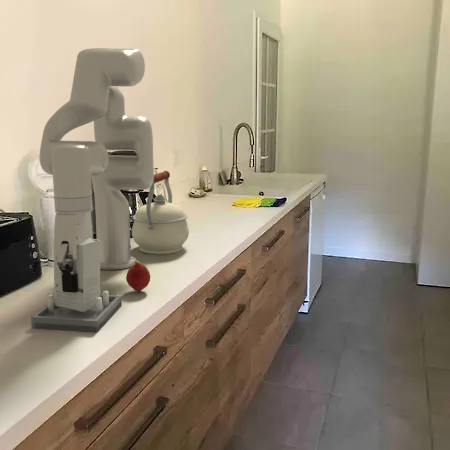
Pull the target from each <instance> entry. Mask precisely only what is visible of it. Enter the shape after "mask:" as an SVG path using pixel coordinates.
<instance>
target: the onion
mask: <svg viewBox="0 0 450 450" xmlns="http://www.w3.org/2000/svg"><path fill="white" fill-rule="evenodd" d="M125 279H126V283H127V284H128V286H129V287H131V289H133V290H134V291H135V292H137V293H140V292H141V291H143V290H144V289H146V288H147V287H148V286H149V283H150V281H151V273H150V271H149V269H148V268H147V267H146V266H145V265H144V264H142V263H141V262H140V261H139V260H137V259H136V261H135V264H134V265H133V266H131V267H129V269H128V271H127V273H126V277H125Z"/></svg>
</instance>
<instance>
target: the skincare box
mask: <svg viewBox="0 0 450 450" xmlns="http://www.w3.org/2000/svg"><path fill="white" fill-rule="evenodd" d="M53 242H54V239H53ZM72 258H73V256H69V257H66V259H72ZM67 264H69V265H70V267H71V265H72V263H69V262H67ZM75 274H77V278H78V292H76V293H72V292H63V290H62V274H61V273H60V269H59V266H58V264H57V260H56V259H55V256H54V255H53V282H54V283H53V287H54V291H53V292H54V294H53V297H54V299H55V306H57V307H63V308H68V309H73V310H77V311H81V312H85V311H87V310H89V309H91V308H93V307H95V306H96V298H97V297H100V295H101V269H100V240H97V238H93V239H91V238H89V239H88V240H86V241H84V242H83V243H81V244H79V259H78V260H77V261H76V271H75Z"/></svg>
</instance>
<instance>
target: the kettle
mask: <svg viewBox="0 0 450 450" xmlns="http://www.w3.org/2000/svg"><path fill="white" fill-rule="evenodd" d="M170 177H171V174H170V171H168V170H163V171H162V172H158V173H155V174H154V177H153V183H152V185H151V187H150V188H149V191H148V195H147V200H146V204H143V205H142V206H140V207H139V208H138V209H137V210H136V212H135V214H134V215H132V219H133V225H132V230H131V236H132V239H133V241H134V242H135V244H137V246H138V250H139V251H140V252H142V253H144V254H148V255H169V254H175V253H177V252H179V251H182V249H183V245H184V243H186V241H187V239H188V238H189V231H190V230H189V225H188V223H187V219H188V218H189V217H188V214H186V213H185V211H184V210H183V208H182V207H181V206H180V205H177V204H175V203H173V193H172V190H171V185H170V179H169V178H170ZM162 181H164V185H165V188H166V192H167V199H166V197H165V196H164V195H162V194H158V195H156V196H155V197H154V199H153V196H154V192H155V184H156V183H160V182H162ZM152 201H154V202H152ZM166 201H167V202H166Z"/></svg>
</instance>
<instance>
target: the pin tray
mask: <svg viewBox="0 0 450 450" xmlns="http://www.w3.org/2000/svg"><path fill="white" fill-rule="evenodd" d="M46 297H47V298H46V301H47V304H46V305H45V306H44V307H42V308H41V309H39V310H38V311H37V312H35V313H34V314H33V315H32V316H31V318H30V319H31V320H30V321H31V322H30V323H31V328H32V329H42V330H56V331H70V332H84V333H85V332H86V333H98V332H100V331H101V330H102V328H103V327H104V325H106V324H107V322H108V321H110V319H111V318H113V316H114V315H115V314H116V313H117V311H118V310H119V309H120V308H121V307H122V306H123V305H122V295H111V294H109V291H108V290H103V291H102V294H100V297H97V298H96V306H95V307H93V308H91V309H89V310H87V311H85V312H81V311H77V310H73V309H68V308H63V307H57V306H55V298H54V294H50V293H49V294H47V295H46Z"/></svg>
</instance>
